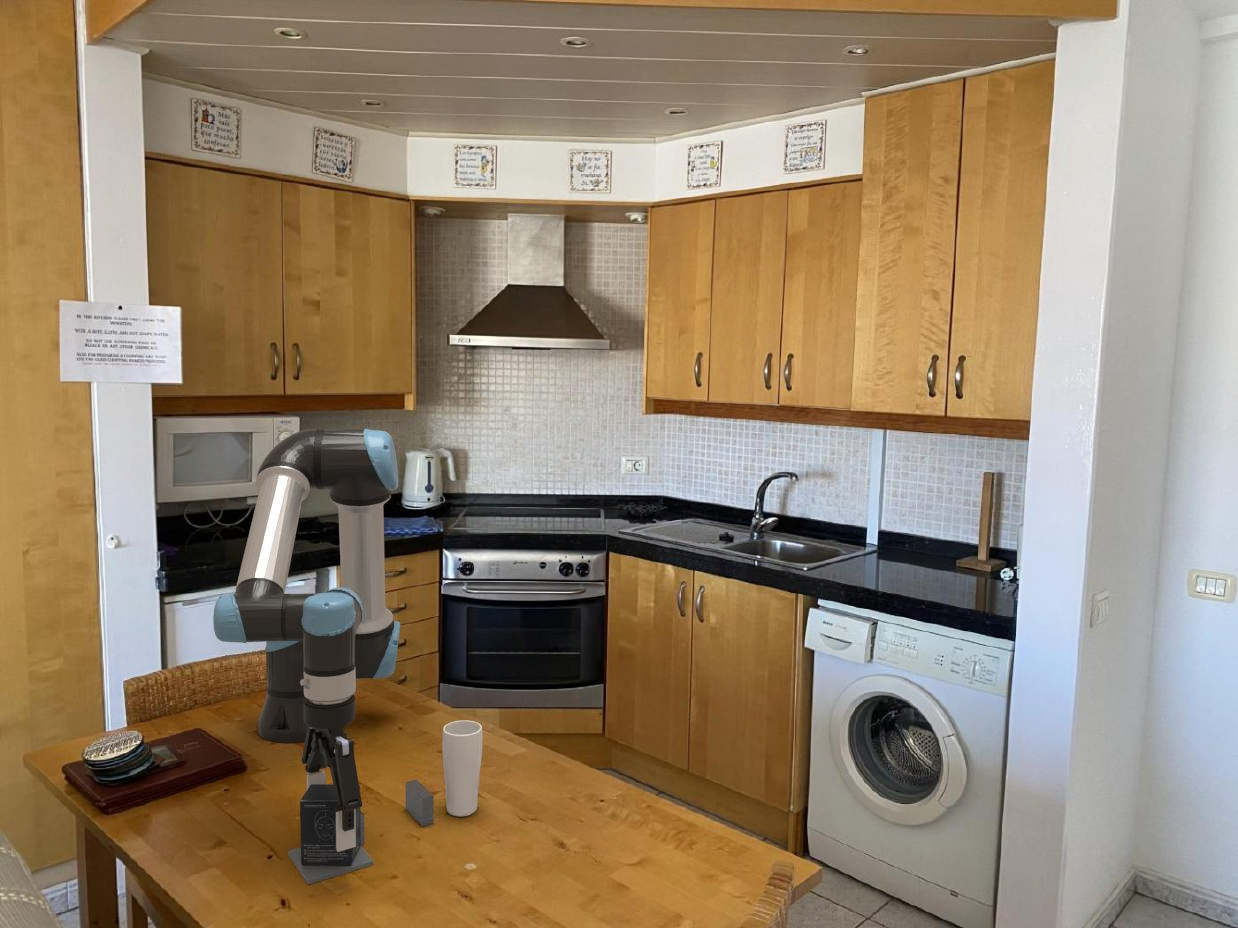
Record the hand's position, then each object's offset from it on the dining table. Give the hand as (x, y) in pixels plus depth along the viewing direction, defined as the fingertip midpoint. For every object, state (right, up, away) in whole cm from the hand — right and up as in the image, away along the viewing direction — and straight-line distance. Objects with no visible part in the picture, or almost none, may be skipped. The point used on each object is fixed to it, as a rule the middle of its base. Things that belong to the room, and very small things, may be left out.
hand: (330, 829), depth 142 cm
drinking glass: (+17, -4, +17) cm, 25 cm away
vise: (+4, -4, +10) cm, 11 cm away
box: (0, -5, +1) cm, 5 cm away
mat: (0, -5, +1) cm, 5 cm away
